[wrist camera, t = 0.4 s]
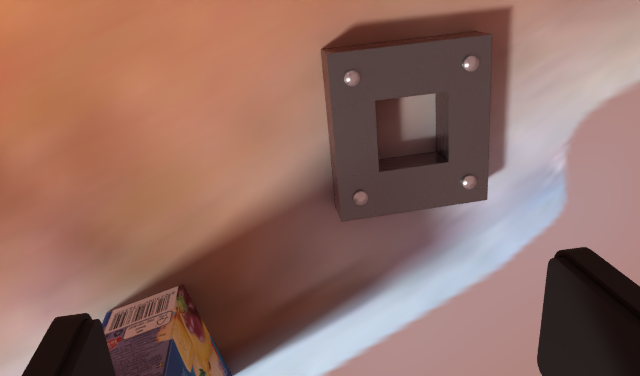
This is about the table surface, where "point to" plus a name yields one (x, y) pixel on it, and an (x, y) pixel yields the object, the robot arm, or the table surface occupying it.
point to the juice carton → (162, 338)
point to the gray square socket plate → (403, 81)
